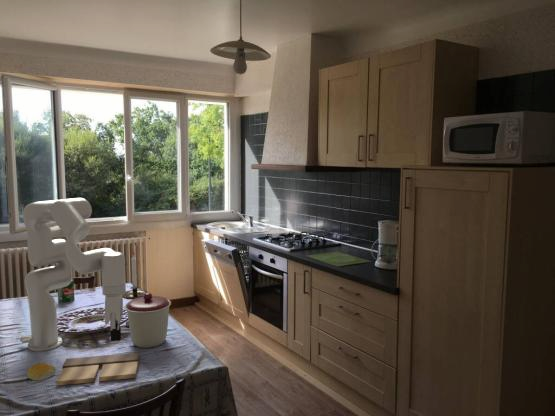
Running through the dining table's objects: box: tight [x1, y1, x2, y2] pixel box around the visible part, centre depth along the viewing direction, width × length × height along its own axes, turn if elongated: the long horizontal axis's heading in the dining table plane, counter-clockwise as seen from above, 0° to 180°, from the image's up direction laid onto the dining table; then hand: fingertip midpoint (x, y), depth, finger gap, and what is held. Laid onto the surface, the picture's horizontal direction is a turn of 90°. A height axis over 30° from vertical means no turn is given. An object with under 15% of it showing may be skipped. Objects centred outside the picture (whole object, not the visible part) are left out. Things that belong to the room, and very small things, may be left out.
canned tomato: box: [56, 278, 76, 304], centre depth 242 cm, size 8×8×11 cm
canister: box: [124, 292, 172, 349], centre depth 190 cm, size 18×18×21 cm
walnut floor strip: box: [62, 352, 140, 369], centre depth 173 cm, size 26×6×2 cm, turn 102°
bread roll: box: [26, 362, 56, 381], centre depth 164 cm, size 8×9×4 cm
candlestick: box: [122, 249, 149, 328], centre depth 209 cm, size 11×11×35 cm
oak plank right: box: [98, 361, 139, 382], centre depth 165 cm, size 12×10×2 cm
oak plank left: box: [55, 365, 100, 387], centre depth 163 cm, size 12×10×2 cm
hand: (115, 339), depth 161 cm, fingers closed
